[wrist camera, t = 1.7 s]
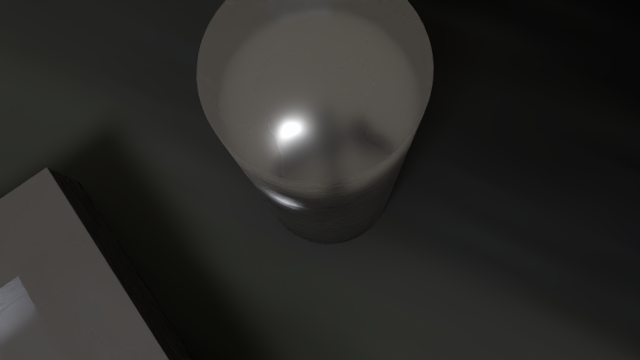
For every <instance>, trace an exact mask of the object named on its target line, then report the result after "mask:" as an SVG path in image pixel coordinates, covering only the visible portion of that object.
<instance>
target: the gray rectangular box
mask: <svg viewBox="0 0 640 360" xmlns="http://www.w3.org/2000/svg"><path fill="white" fill-rule="evenodd" d="M0 360H193V359H192V357H191V356H190V354H189V353H188V351H187V349H186V348H185V346H184V345H183V343H182V342H181V340H180V339H179V337H178V335H177V334H176V332H175V331H174V329H173V328H172V326H171V325H170V323H169V322H168V320H167V318H166V317H165V315H164V314H163V312H162V311H161V309H160V308H159V306H158V304H157V303H156V301H155V300H154V298H153V297H152V295H151V294H150V292H149V290H148V289H147V287H146V286H145V284H144V283H143V281H142V280H141V278H140V277H139V275H138V273H137V272H136V270H135V269H134V267H133V266H132V264H131V263H130V261H129V259H128V258H127V256H126V255H125V253H124V252H123V250H122V249H121V247H120V245H119V244H118V242H117V241H116V239H115V238H114V236H113V235H112V233H111V231H110V230H109V228H108V227H107V225H106V224H105V222H104V221H103V219H102V218H101V216H100V214H99V213H98V211H97V210H96V208H95V207H94V205H93V204H92V202H91V200H90V199H89V197H88V196H87V194H86V193H85V191H84V190H83V188H82V186H81V185H80V183H79V182H77V181H75V180H73V179H71V178H68V177H66V176H64V175H62V174H60V173H58V172H56V171H54V170H51V169H49V168H47V167H46V168H45V169H43V170H42V171H41V172H39V173H38V174H36V175H35V176H33V177H32V178H30V179H29V180H27V181H26V182H24V183H23V184H21V185H20V186H19V187H17V188H16V189H14V190H13V191H11V192H10V193H8V194H7V195H5V196H4V197H2V198H1V199H0Z"/></svg>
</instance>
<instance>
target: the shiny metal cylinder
mask: <svg viewBox="0 0 640 360" xmlns="http://www.w3.org/2000/svg"><path fill="white" fill-rule="evenodd" d="M433 68H434V66H433V56H432V49H431V45H430V41H429V37H428V35H427V32H426V30H425V27H424V25H423V23H422V21H421V19H420V18H419V16H418V14H417V12H416V11H415V10H414V8H413V7H412V6H411V4H410V3H409V2H408V1H407V0H226V1H225V2H224V3H223V5H222V6H221V7H220V8H219V10H218V11H217V12H216V14H215V15H214V17H213V19H212V20H211V22H210V23H209V25H208V28H207V30H206V32H205V34H204V37H203V39H202V43H201V46H200V50H199V55H198V62H197V85H198V93H199V97H200V101H201V104H202V108H203V110H204V113H205V115H206V117H207V119H208V122H209V123H210V125H211V127H212V128H213V130H214V131H215V133H216V135H217V136H218V137H219V139H220V140H221V141H222V143H223V144H224V145H225V147H226V148H227V149H228V151H229V152H230V154H231V155H232V156H233V158H234V159H235V160H236V162H237V163H238V164H239V166H240V167H241V168H242V170H243V171H244V173H245V174H246V175H247V177H248V178H249V179H250V181H251V182H252V183H253V185H254V186H255V187H256V189H257V190H258V192H259V193H260V194H261V196H262V197H263V198H264V200H265V201H266V202H267V204H268V205H269V206H270V208H271V209H272V211H273V212H274V213H275V215H276V216H277V217H278V219H279V220H280V221H281V222H282V224H283V225H284V226H285V227H286V228H287V229H289V230H290V231H291V232H292V233H294V234H295V235H297V236H299V237H301V238H303V239H305V240H308V241H311V242H315V243H320V244H336V243H342V242H346V241H349V240H352V239H354V238H356V237H358V236H360V235H361V234H363V233H364V232H366V231H367V230H368V229H369V228H371V227H372V226H373V224H374V223H375V222H376V221H377V220H378V218H379V217H380V215H381V214H382V212H383V210H384V208H385V206H386V203H387V201H388V199H389V196H390V194H391V191H392V189H393V186H394V184H395V182H396V179H397V177H398V174H399V172H400V170H401V167H402V165H403V162H404V160H405V158H406V155H407V153H408V150H409V148H410V146H411V143H412V141H413V138H414V136H415V134H416V131H417V129H418V126H419V124H420V122H421V119H422V117H423V114H424V112H425V109H426V106H427V103H428V101H429V98H430V94H431V89H432V83H433Z"/></svg>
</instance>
